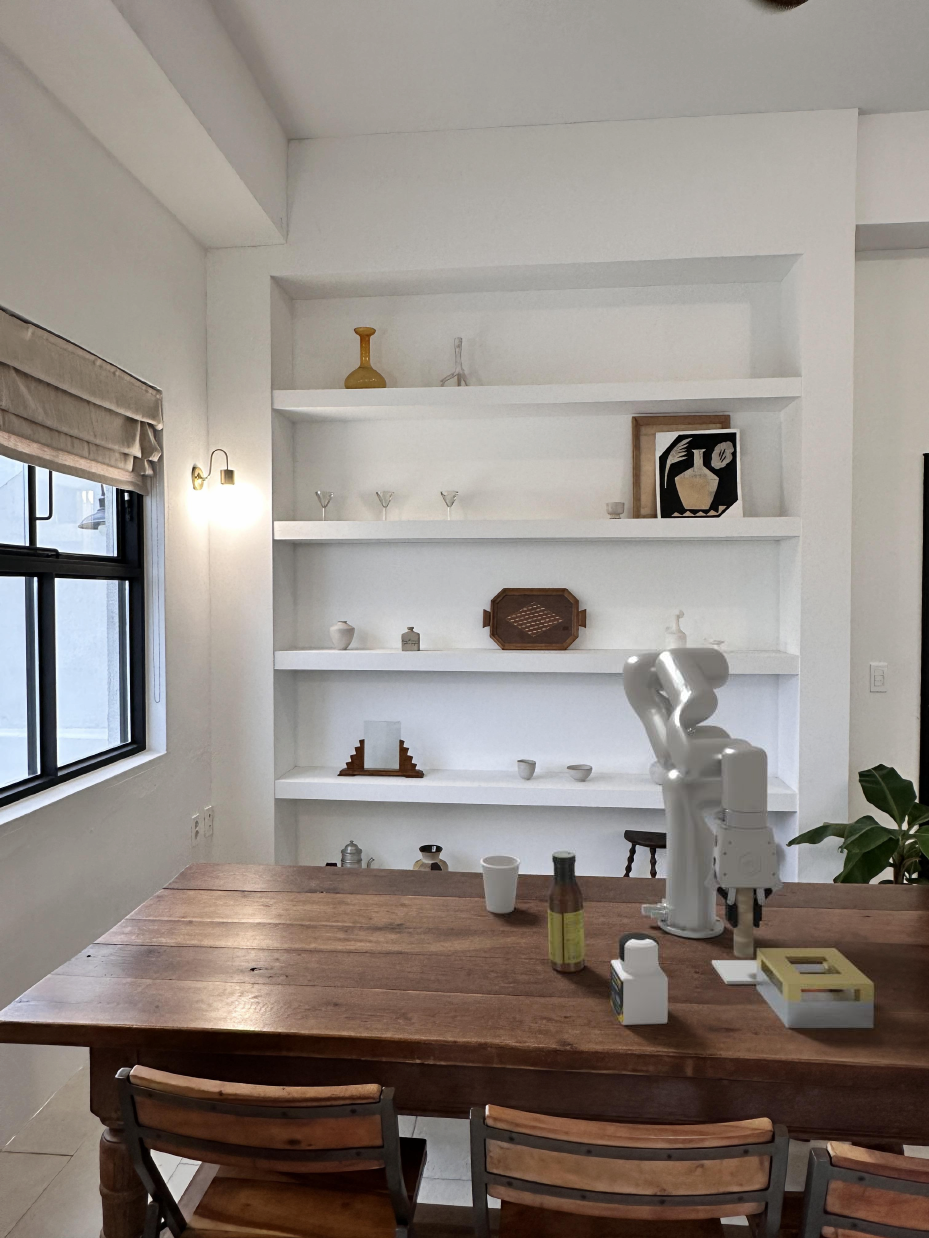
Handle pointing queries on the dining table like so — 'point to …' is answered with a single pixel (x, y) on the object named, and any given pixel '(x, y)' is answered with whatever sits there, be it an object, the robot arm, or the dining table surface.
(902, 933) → the dining table surface
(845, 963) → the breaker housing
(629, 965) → the medicine bottle
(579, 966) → the sauce bottle
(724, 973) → the pad
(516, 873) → the dixie cup
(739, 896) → the beige cylinder rod
